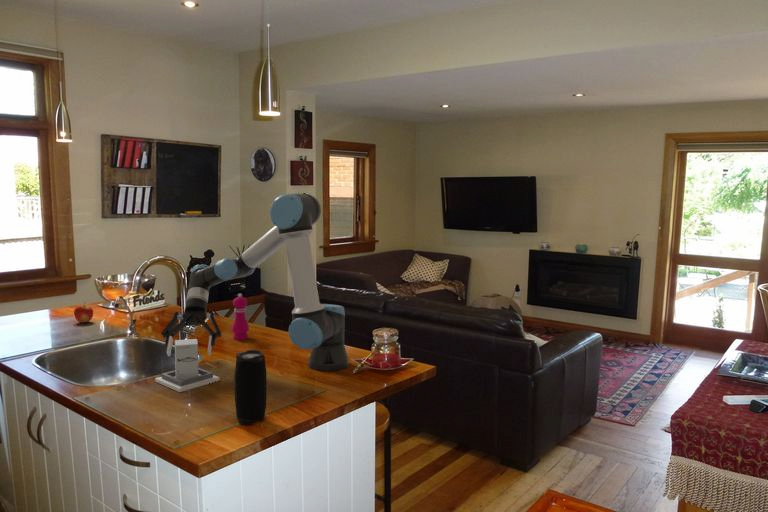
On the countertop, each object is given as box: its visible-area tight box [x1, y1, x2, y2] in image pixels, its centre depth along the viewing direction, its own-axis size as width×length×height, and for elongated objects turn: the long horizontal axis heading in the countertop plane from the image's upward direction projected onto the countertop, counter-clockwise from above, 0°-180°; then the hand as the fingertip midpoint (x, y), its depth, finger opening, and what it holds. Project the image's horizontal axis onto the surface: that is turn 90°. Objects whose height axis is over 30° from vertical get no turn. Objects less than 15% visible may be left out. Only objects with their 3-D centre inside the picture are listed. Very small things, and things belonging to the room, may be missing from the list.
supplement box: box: [174, 338, 199, 380], centre depth 192 cm, size 7×7×13 cm
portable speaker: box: [233, 349, 268, 426], centre depth 161 cm, size 9×9×20 cm
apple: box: [73, 302, 94, 324], centre depth 270 cm, size 8×8×10 cm
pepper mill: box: [231, 293, 250, 341], centre depth 247 cm, size 7×7×20 cm
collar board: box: [154, 367, 220, 393], centre depth 192 cm, size 15×15×3 cm
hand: (188, 354), depth 195 cm, fingers open, 13 cm apart
